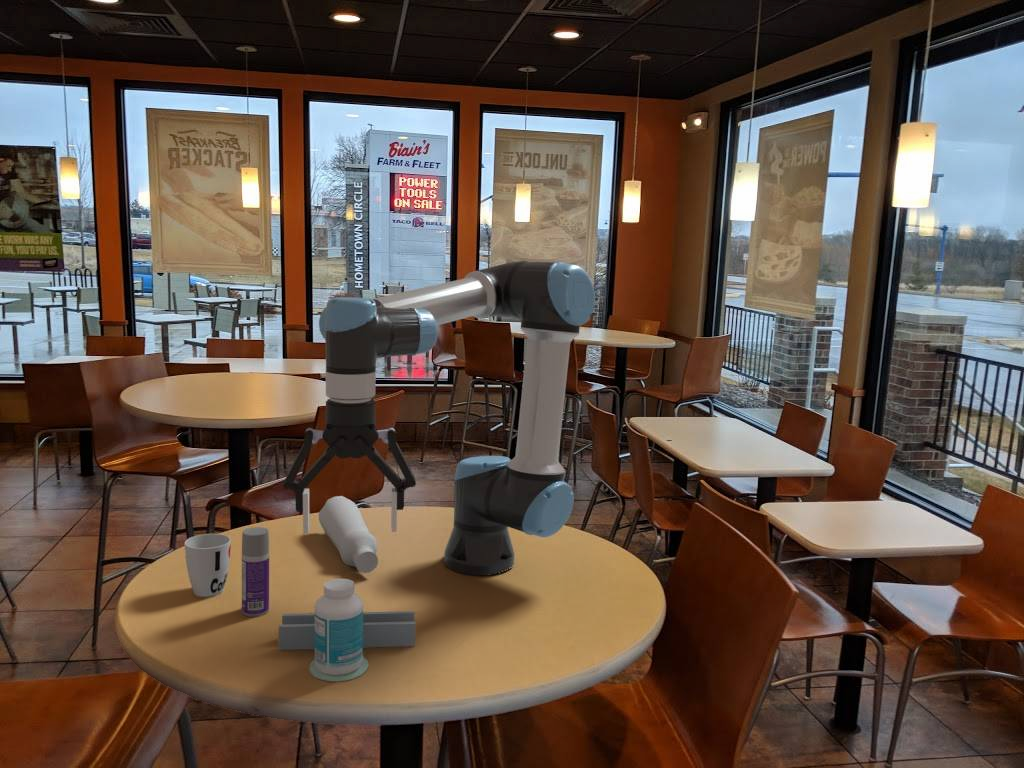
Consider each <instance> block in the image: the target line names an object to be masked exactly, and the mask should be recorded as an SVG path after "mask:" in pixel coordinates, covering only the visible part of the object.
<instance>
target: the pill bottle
mask: <svg viewBox="0 0 1024 768" xmlns="http://www.w3.org/2000/svg"><path fill="white" fill-rule="evenodd" d="M355 591H356V590H355V582H354V581H353V580H352V579H348V578H332V579H329V580H327V581H326V582H325V583H324V584H323V594H322V595H321V596H320V597H319V598H317V600H316V601H315V604H314V613H315V649H314V660H315V666H316V668H317V669H318V670H319V671H320V672H322V673H324V674H328V675H344V674H348V673H351V672H353V671H355V670H356V669H358V668H359V667H360V666H361V664H362V661H363V657H364V648H363V612H364V602H363V599H362V598H361V596H360V595H358V594H357V593H355Z"/></svg>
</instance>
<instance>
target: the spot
mask: <svg viewBox="0 0 1024 768" xmlns="http://www.w3.org/2000/svg"><path fill="white" fill-rule="evenodd" d="M368 668H369V662H368V660H367V658H366V657H365V656H363V661H362V664H361V666H360V667H359V668H358V669H356V670H355V671H353V672H351V673H348V674H344V675H328V674H324V673H322V672H320V671H319V670H318V669H317V668H316V666H315V659H313V660H312V661H311V663H310V665H309V672H310V674H311V675H312V676H313V677H314V678H316V679H318V680H320V681H324V682H332V683H337V682H338V683H341V682H348V681H352V680H354V679H357V678H359V677H361V676H362V675H364V674H365V673H366V672H367V671H368Z"/></svg>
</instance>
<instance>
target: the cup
mask: <svg viewBox="0 0 1024 768" xmlns="http://www.w3.org/2000/svg"><path fill="white" fill-rule="evenodd" d="M231 545H232V538H231V537H230V535H229V536H228V535H225V534H222V533H221V534H220V533H205V534H198V535H195V536H191V537H188V538H187V539H186V540H185V541H184V551H185V554H184V555H185V564H186V568H187V574H188V578H189V583H190V585H191V588H192V590H193V593H194V595H195V596H196V597H198V598H199V597H200V598H211V597H214V596H218V595H220V594H222V593H223V592H224V589H225V585H226V582H227V578H228V573H229V567H230V562H231V547H232V546H231Z"/></svg>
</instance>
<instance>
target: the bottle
mask: <svg viewBox="0 0 1024 768" xmlns="http://www.w3.org/2000/svg"><path fill="white" fill-rule="evenodd" d="M318 521H319V523H320V524H319V525H320V526H321V528H322V530H323V532H324V534H325V535H327V536H328V537H329V539H330V540H331V541H332V544H333V545H334V547H335V548H337V551H338V552H339V556H340V557H341V560H342V562H343V563H345V564H346V565H347V566H350V567H353V568H356V569H357V570H358V572H360V573H362V574H367V573H371V572H373V571H374V570H375V569H376V568H377V566H378V564H379V558H378V556H377V552H378V541H377V540H376V537H375V536H374V535H373V534H372V533H370V530H369V529H368V526H367V524H366V522H365V521H364V519H363V515H362V513H361V511H360V508H359V507H358V505H356V503H355V502H354V501H352V500H351V499H348V498H347V497H345V496H343V495H339V496H338V495H336V496H333V497H331V498H329V499H327V500H326V502H325V504H324V505H323V506H322V508H321V509H320V511H319V512H318Z"/></svg>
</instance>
